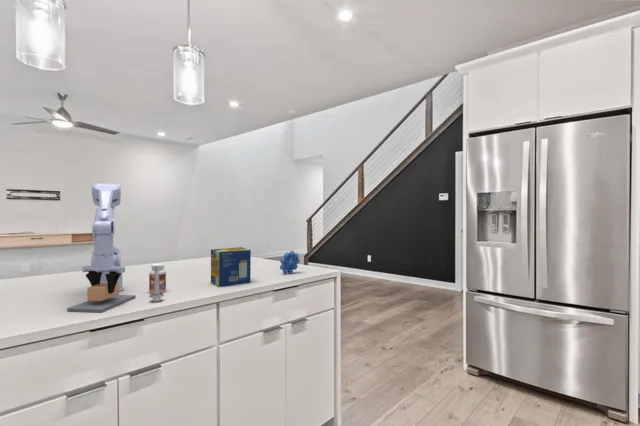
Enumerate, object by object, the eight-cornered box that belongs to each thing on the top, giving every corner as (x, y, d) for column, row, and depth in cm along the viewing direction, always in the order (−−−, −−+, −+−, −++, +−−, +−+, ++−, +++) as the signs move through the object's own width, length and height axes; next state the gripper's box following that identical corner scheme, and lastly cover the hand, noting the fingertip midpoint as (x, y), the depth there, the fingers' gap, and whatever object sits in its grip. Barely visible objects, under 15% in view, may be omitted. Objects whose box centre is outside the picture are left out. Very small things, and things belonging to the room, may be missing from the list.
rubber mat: (105, 297, 129) (105, 294, 129) (135, 297, 128) (135, 295, 128) (67, 311, 111) (66, 308, 111) (101, 312, 110) (101, 309, 110)
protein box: (210, 282, 155) (210, 249, 154) (241, 278, 164) (241, 247, 164) (218, 287, 146) (218, 251, 146) (251, 282, 156) (251, 249, 155)
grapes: (295, 271, 185) (295, 249, 184) (301, 273, 179) (301, 250, 179) (276, 273, 178) (276, 250, 178) (282, 275, 172) (282, 252, 172)
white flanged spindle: (166, 299, 126) (158, 303, 122) (155, 298, 127) (146, 302, 122) (166, 264, 126) (158, 267, 121) (155, 264, 127) (146, 266, 122)
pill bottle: (148, 294, 134) (148, 266, 134) (149, 290, 139) (149, 263, 139) (166, 292, 136) (166, 265, 136) (165, 289, 142) (166, 262, 142)
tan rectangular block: (87, 300, 115) (87, 287, 115) (105, 293, 124) (106, 281, 124) (101, 301, 115) (101, 288, 115) (118, 294, 124) (119, 282, 124)
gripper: (75, 255, 116) (75, 295, 116) (115, 256, 115) (115, 296, 115) (90, 252, 123) (90, 290, 123) (128, 253, 122) (128, 291, 122)
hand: (103, 292), depth 119 cm, fingers closed on tan rectangular block, 5 cm apart
